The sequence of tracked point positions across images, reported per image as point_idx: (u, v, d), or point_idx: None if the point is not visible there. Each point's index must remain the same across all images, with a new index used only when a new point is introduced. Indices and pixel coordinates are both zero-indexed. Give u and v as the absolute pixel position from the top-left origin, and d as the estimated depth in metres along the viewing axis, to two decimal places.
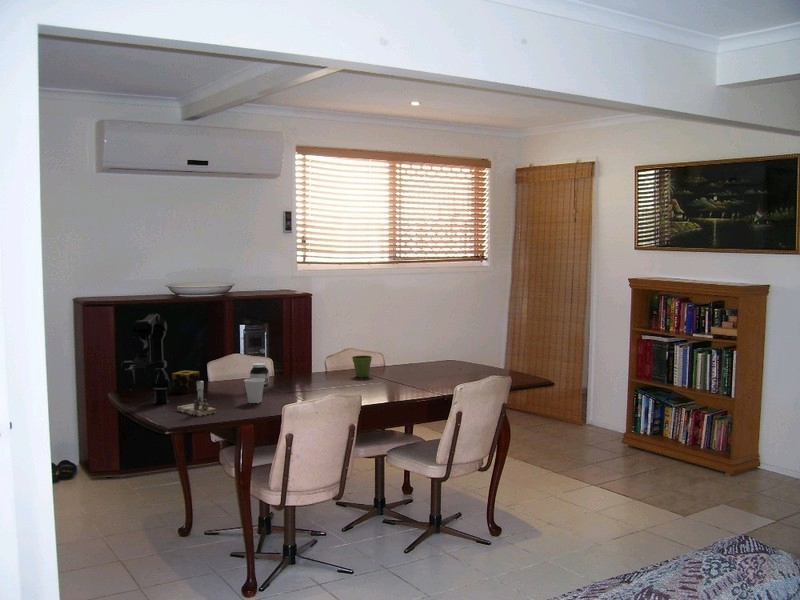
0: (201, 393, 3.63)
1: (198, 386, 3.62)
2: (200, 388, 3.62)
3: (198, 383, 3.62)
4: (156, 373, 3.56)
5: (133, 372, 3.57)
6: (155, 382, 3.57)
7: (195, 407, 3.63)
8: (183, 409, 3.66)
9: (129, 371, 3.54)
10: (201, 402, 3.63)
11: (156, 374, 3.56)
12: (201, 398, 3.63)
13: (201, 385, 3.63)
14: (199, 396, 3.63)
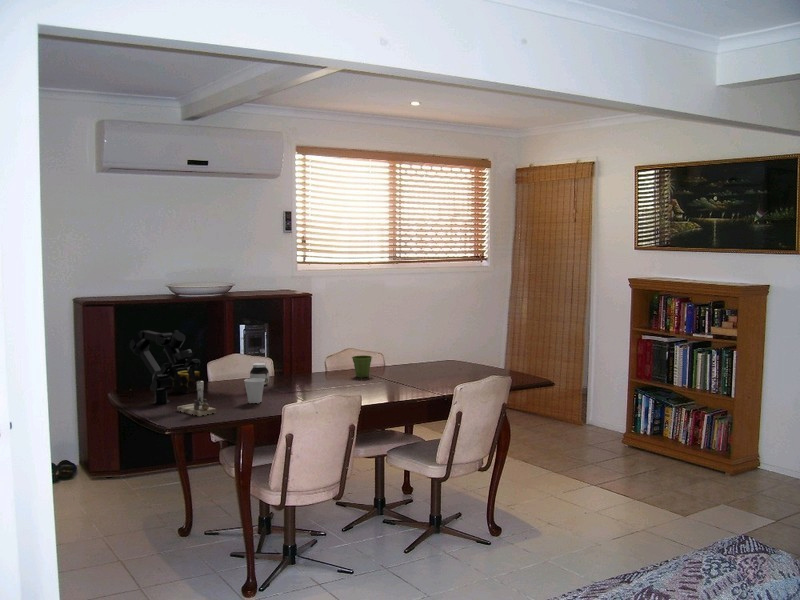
0: (201, 393, 3.63)
1: (198, 386, 3.62)
2: (200, 388, 3.62)
3: (198, 383, 3.62)
4: (193, 369, 3.75)
5: None
6: None
7: (195, 407, 3.63)
8: (183, 409, 3.66)
9: (175, 369, 3.68)
10: (201, 402, 3.63)
11: (193, 370, 3.74)
12: (201, 398, 3.63)
13: (201, 385, 3.63)
14: (199, 396, 3.63)
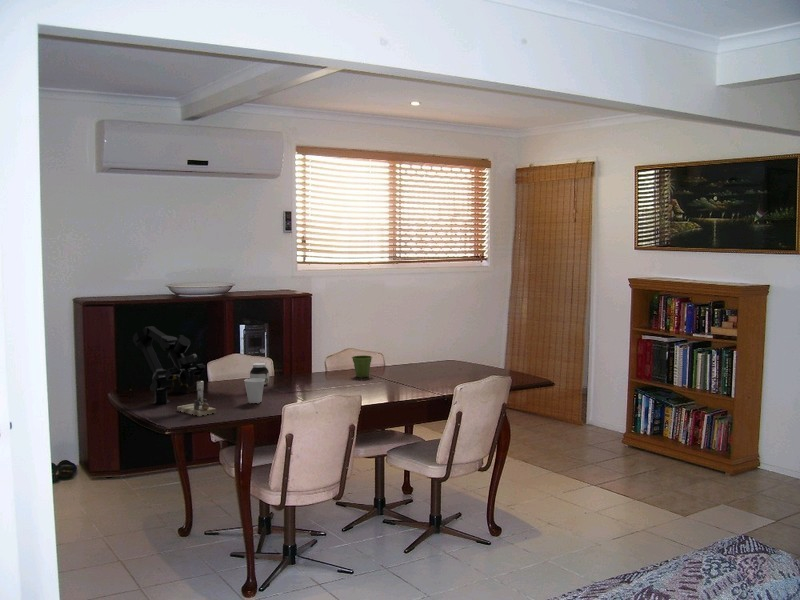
0: (201, 393, 3.63)
1: (198, 386, 3.62)
2: (200, 388, 3.62)
3: (198, 383, 3.62)
4: (192, 375, 3.70)
5: None
6: None
7: (195, 407, 3.63)
8: (183, 409, 3.66)
9: (186, 373, 3.68)
10: (201, 402, 3.63)
11: (192, 376, 3.69)
12: (201, 398, 3.63)
13: (201, 385, 3.63)
14: (199, 396, 3.63)
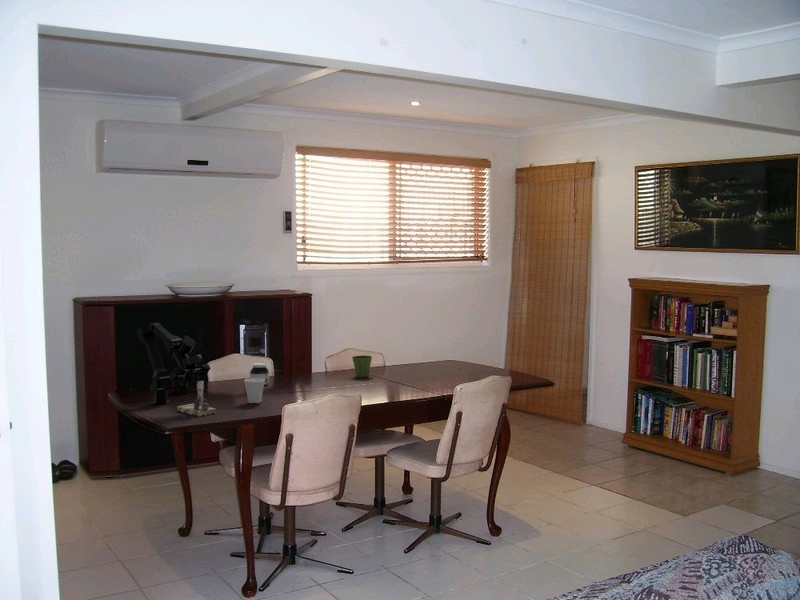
0: (201, 393, 3.63)
1: (198, 386, 3.62)
2: (201, 388, 3.62)
3: (198, 383, 3.62)
4: (197, 376, 3.67)
5: None
6: None
7: (195, 407, 3.63)
8: (183, 409, 3.66)
9: (191, 374, 3.65)
10: (201, 402, 3.63)
11: (197, 377, 3.67)
12: (201, 398, 3.63)
13: (201, 385, 3.63)
14: (199, 396, 3.63)
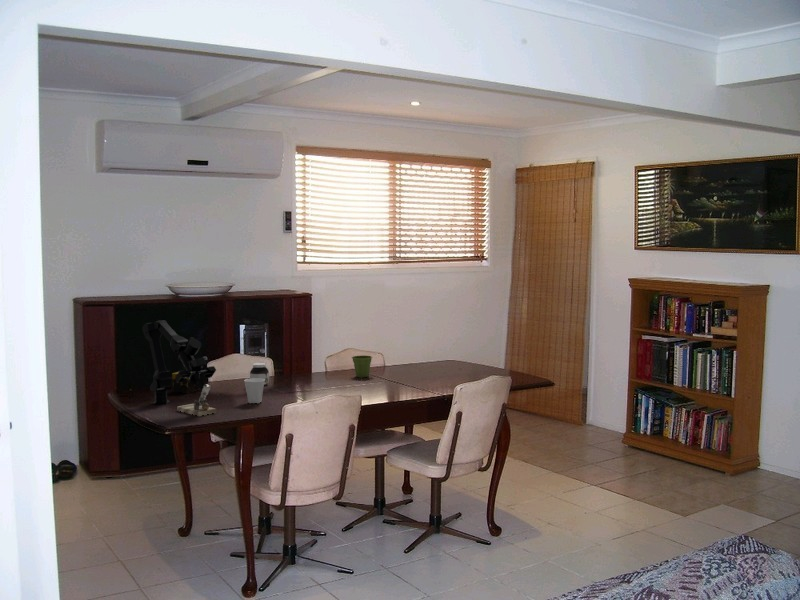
0: (204, 397, 3.62)
1: (204, 391, 3.60)
2: (205, 393, 3.60)
3: (205, 388, 3.59)
4: (202, 378, 3.64)
5: None
6: None
7: (195, 407, 3.63)
8: (183, 409, 3.66)
9: (197, 376, 3.62)
10: (201, 404, 3.63)
11: (202, 379, 3.64)
12: (202, 400, 3.63)
13: (207, 391, 3.60)
14: (201, 398, 3.62)
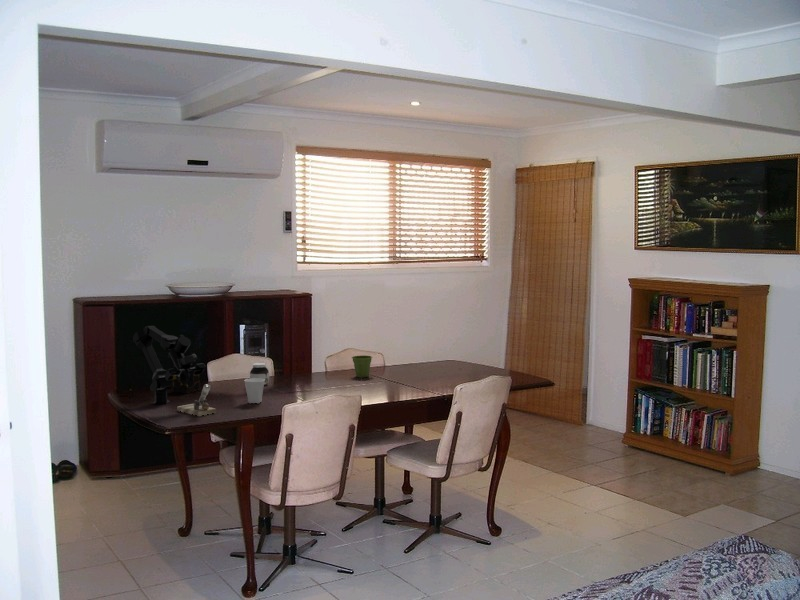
0: (204, 397, 3.62)
1: (204, 391, 3.60)
2: (205, 393, 3.60)
3: (205, 388, 3.59)
4: (192, 375, 3.70)
5: None
6: (193, 384, 3.68)
7: (195, 407, 3.63)
8: (183, 409, 3.66)
9: (186, 373, 3.68)
10: (201, 404, 3.63)
11: (192, 376, 3.69)
12: (202, 400, 3.63)
13: (207, 391, 3.60)
14: (201, 398, 3.62)
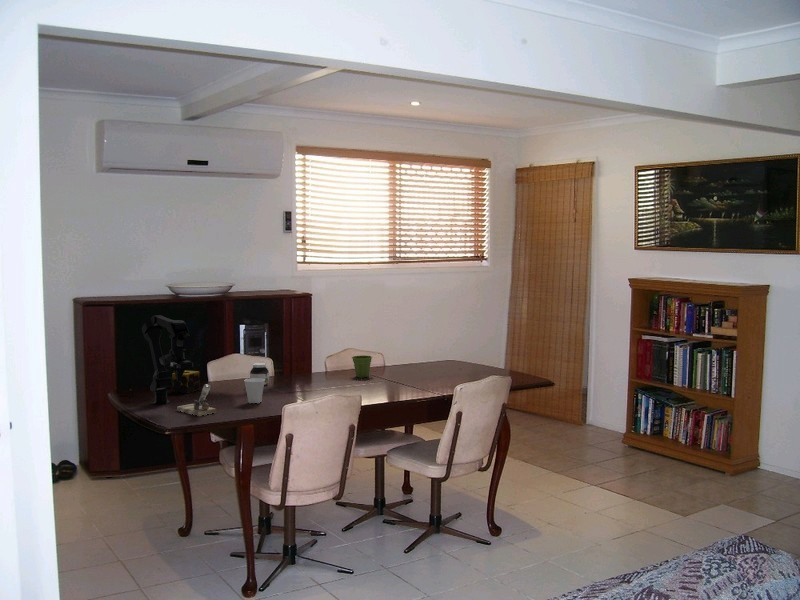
0: (204, 397, 3.62)
1: (204, 391, 3.60)
2: (205, 393, 3.60)
3: (205, 388, 3.59)
4: (176, 371, 3.71)
5: None
6: (177, 379, 3.73)
7: (195, 407, 3.63)
8: (183, 409, 3.66)
9: (172, 368, 3.73)
10: (201, 404, 3.63)
11: (176, 372, 3.71)
12: (202, 400, 3.63)
13: (207, 391, 3.60)
14: (201, 398, 3.62)
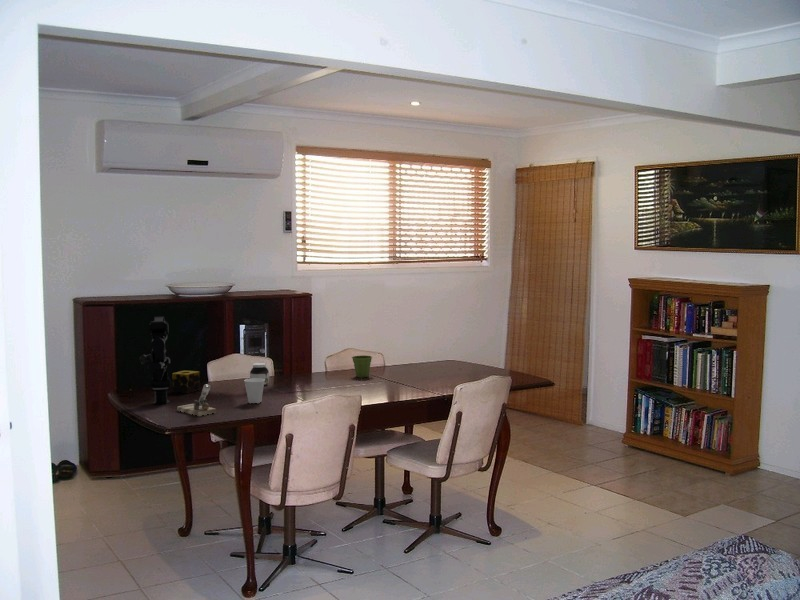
0: (204, 397, 3.62)
1: (204, 391, 3.60)
2: (205, 393, 3.60)
3: (205, 388, 3.59)
4: None
5: None
6: (158, 380, 3.71)
7: (195, 407, 3.63)
8: (183, 409, 3.66)
9: None
10: (201, 404, 3.63)
11: None
12: (202, 400, 3.63)
13: (207, 391, 3.60)
14: (201, 398, 3.62)
